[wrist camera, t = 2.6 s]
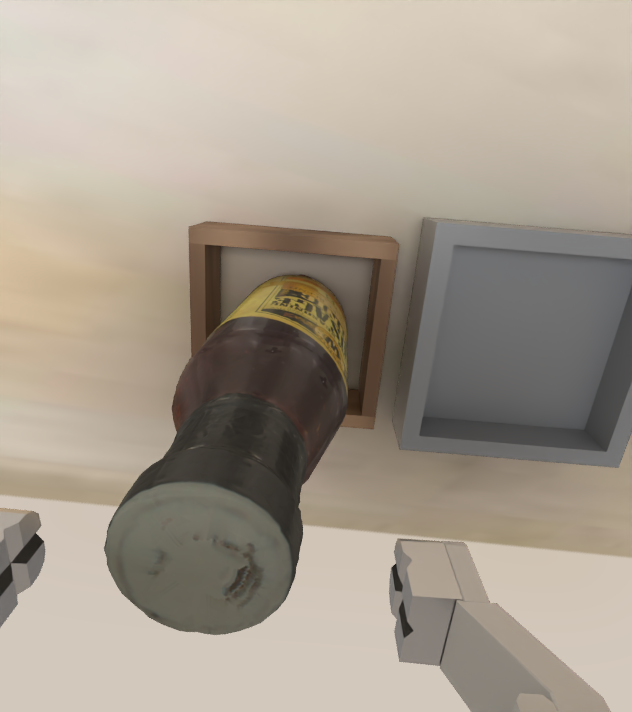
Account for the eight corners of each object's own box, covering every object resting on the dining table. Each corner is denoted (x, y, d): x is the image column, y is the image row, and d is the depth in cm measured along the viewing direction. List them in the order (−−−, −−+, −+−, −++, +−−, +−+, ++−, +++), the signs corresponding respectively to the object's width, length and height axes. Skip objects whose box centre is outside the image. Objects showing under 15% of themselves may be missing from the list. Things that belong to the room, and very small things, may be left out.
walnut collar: (390, 236, 26) (399, 244, 23) (369, 402, 30) (373, 429, 26) (206, 221, 26) (188, 226, 23) (208, 388, 30) (192, 413, 26)
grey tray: (654, 236, 25) (701, 244, 22) (587, 436, 30) (618, 467, 27) (423, 217, 26) (437, 222, 22) (392, 420, 30) (399, 449, 27)
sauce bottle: (364, 333, 28) (429, 622, 9) (283, 384, 29) (200, 723, 11) (304, 243, 26) (237, 385, 8) (220, 302, 28) (-7, 543, 9)
